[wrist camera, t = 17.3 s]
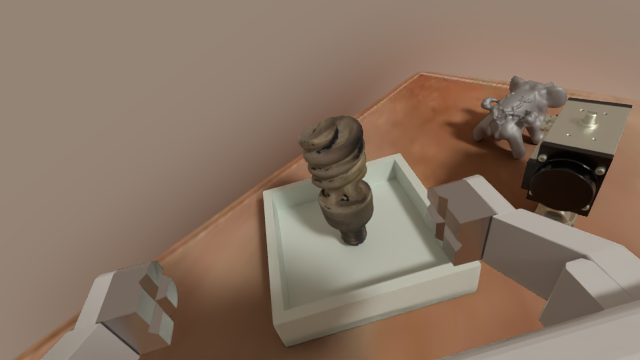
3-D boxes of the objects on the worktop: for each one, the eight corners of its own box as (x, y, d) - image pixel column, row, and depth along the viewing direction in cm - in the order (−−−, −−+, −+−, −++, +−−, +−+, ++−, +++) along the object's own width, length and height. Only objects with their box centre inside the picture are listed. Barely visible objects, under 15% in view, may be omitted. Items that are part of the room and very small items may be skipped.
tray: (285, 347, 29) (273, 325, 27) (272, 213, 43) (263, 191, 41) (476, 291, 30) (481, 264, 27) (400, 177, 44) (399, 153, 41)
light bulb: (323, 260, 34) (286, 141, 25) (331, 221, 38) (302, 108, 29) (377, 261, 33) (358, 136, 24) (379, 222, 37) (365, 102, 28)
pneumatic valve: (596, 188, 36) (640, 86, 28) (567, 262, 30) (614, 157, 23) (538, 173, 39) (565, 79, 32) (503, 237, 33) (525, 139, 26)
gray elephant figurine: (464, 150, 46) (468, 102, 41) (496, 107, 52) (503, 61, 47) (538, 169, 41) (553, 116, 36) (565, 118, 46) (581, 67, 41)
